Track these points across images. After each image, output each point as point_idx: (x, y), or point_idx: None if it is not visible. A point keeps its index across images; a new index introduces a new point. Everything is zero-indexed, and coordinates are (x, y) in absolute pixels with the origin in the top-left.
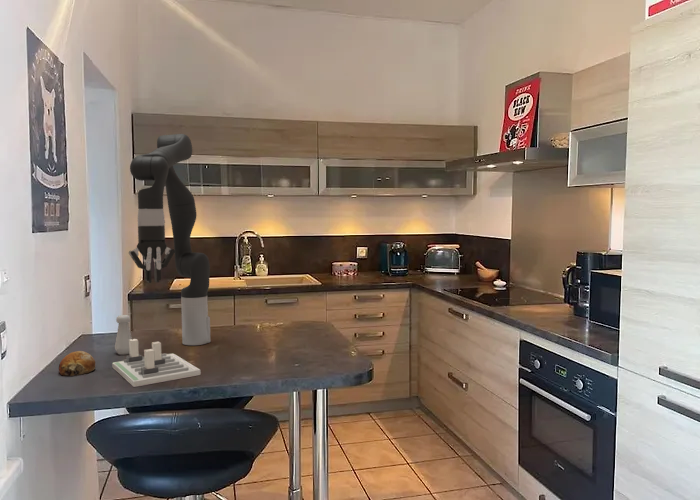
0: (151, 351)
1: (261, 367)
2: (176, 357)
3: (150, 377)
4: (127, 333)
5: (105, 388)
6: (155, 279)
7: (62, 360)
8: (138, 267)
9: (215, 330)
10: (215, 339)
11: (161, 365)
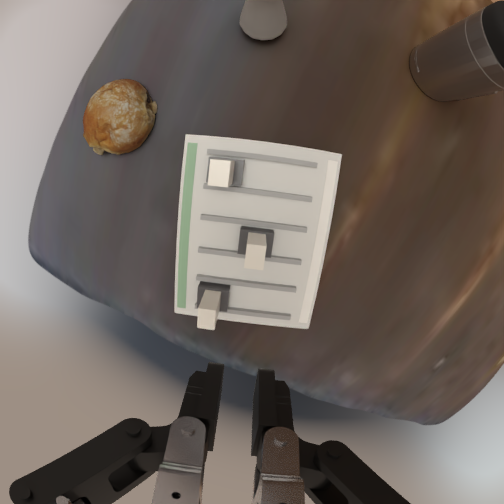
0: (208, 328)
1: (403, 347)
2: (326, 202)
3: None
4: (269, 17)
5: (134, 279)
6: (256, 390)
7: (83, 119)
8: (125, 427)
9: None
10: None
11: None
